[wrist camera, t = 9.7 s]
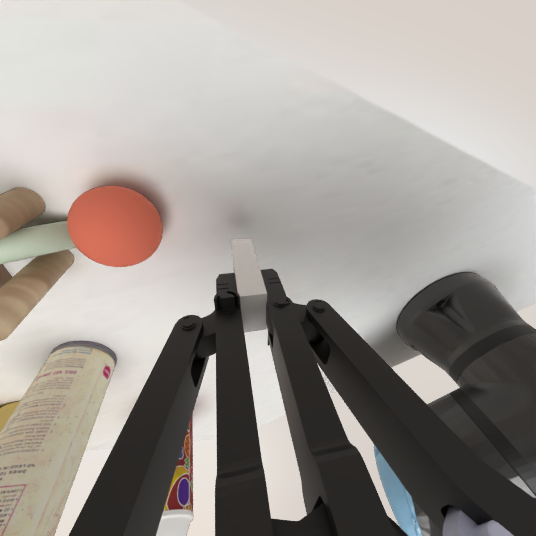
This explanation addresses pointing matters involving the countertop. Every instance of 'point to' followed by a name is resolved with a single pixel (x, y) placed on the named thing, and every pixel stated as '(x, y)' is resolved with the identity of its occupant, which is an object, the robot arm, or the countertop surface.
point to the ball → (114, 226)
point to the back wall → (4, 276)
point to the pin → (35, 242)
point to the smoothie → (180, 493)
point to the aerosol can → (50, 437)
